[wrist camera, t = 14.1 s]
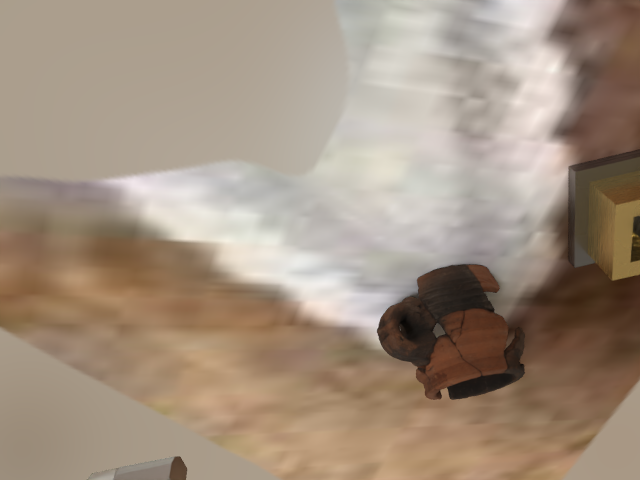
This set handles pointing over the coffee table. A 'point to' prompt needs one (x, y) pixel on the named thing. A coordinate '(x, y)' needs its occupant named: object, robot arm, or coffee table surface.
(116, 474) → the robot arm
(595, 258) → the wooden square frame
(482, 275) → the pottery mug
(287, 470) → the coffee table surface
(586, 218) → the post
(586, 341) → the coffee table surface
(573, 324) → the coffee table surface
